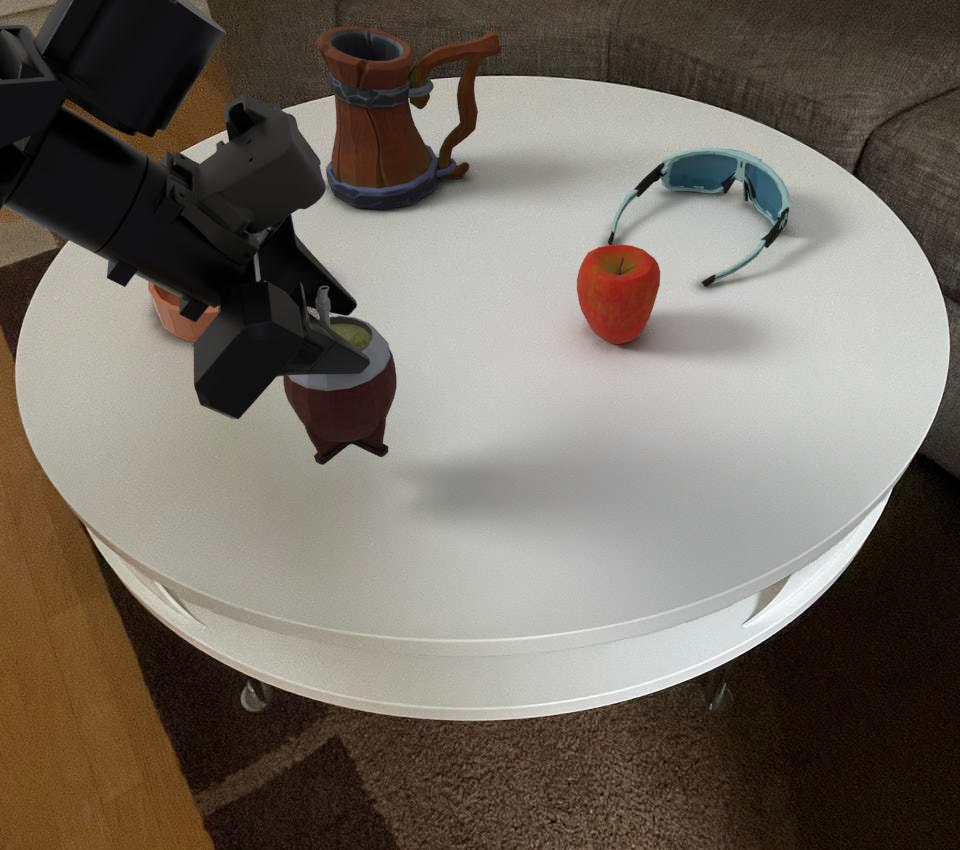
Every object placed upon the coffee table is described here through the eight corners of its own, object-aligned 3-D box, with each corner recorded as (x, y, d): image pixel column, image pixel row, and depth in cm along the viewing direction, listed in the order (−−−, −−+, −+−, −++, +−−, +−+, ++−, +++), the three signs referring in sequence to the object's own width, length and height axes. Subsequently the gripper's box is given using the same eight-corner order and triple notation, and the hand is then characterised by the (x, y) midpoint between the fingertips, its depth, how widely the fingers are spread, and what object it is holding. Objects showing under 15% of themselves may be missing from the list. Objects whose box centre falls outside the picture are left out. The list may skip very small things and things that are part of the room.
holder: (131, 326, 78) (119, 296, 75) (209, 253, 85) (200, 223, 83) (246, 356, 74) (237, 325, 72) (317, 277, 82) (311, 246, 79)
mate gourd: (347, 392, 64) (315, 196, 55) (434, 432, 61) (415, 229, 51) (270, 450, 60) (220, 248, 50) (359, 497, 56) (323, 288, 47)
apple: (562, 343, 74) (565, 266, 68) (595, 302, 77) (600, 226, 72) (634, 367, 71) (642, 289, 66) (665, 324, 75) (675, 246, 70)
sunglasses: (809, 220, 85) (817, 174, 81) (721, 313, 78) (725, 268, 75) (680, 172, 92) (682, 128, 88) (590, 254, 85) (588, 211, 82)
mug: (500, 147, 97) (496, 2, 87) (508, 204, 89) (504, 51, 78) (331, 158, 97) (307, 13, 86) (324, 216, 89) (296, 64, 78)
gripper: (210, 174, 37) (482, 342, 46) (203, 10, 50) (416, 167, 59) (73, 357, 41) (347, 476, 50) (100, 162, 54) (313, 285, 63)
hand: (359, 337), depth 56 cm, fingers closed on mate gourd, 5 cm apart
